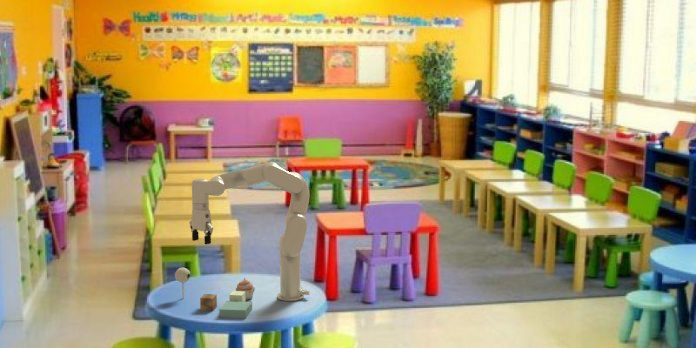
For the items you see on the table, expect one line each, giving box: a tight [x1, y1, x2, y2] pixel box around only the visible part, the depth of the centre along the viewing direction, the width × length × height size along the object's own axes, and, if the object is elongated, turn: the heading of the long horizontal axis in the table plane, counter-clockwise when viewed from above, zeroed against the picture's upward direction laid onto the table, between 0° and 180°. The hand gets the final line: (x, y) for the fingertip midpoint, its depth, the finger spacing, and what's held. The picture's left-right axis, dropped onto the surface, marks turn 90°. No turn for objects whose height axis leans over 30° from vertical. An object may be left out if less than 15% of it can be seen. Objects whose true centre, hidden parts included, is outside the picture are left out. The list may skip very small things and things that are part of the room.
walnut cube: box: [199, 293, 218, 312], centre depth 404 cm, size 6×6×6 cm
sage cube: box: [229, 290, 246, 302], centre depth 408 cm, size 6×6×6 cm
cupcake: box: [234, 277, 256, 301], centre depth 418 cm, size 9×9×10 cm
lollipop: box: [174, 267, 191, 300], centre depth 417 cm, size 7×7×15 cm
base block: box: [219, 300, 253, 319], centre depth 397 cm, size 12×12×4 cm
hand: (201, 242), depth 410 cm, fingers open, 9 cm apart
